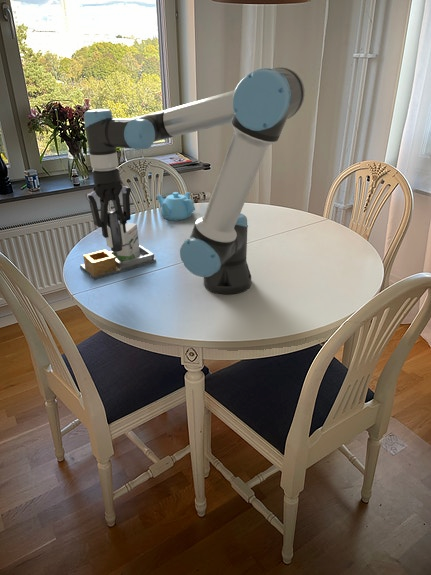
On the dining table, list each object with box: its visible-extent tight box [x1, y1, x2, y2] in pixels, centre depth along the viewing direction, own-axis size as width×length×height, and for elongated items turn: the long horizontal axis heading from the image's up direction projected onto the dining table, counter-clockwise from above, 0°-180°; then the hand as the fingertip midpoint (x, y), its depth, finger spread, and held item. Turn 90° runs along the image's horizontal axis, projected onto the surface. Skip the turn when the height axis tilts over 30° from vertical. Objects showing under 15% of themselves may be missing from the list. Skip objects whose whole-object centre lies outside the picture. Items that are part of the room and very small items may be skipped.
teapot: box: [156, 191, 196, 221], centre depth 197 cm, size 15×15×11 cm
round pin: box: [107, 210, 122, 252], centre depth 135 cm, size 3×3×12 cm
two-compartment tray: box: [79, 244, 157, 281], centre depth 154 cm, size 12×23×5 cm, turn 126°
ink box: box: [117, 222, 140, 262], centre depth 154 cm, size 9×5×12 cm, turn 166°
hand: (116, 244), depth 137 cm, fingers closed on round pin, 3 cm apart
